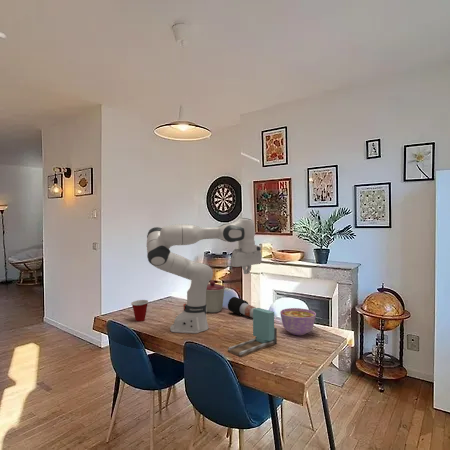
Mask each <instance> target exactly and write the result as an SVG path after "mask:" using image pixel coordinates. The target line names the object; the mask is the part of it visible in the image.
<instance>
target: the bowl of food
mask: <svg viewBox="0 0 450 450" xmlns="http://www.w3.org/2000/svg"><path fill="white" fill-rule="evenodd" d="M279 314H280V319H281V322H282V325H283V327H284V329H285V330H286V331H287V332H288V333H290V334H291V335H293V336H304V335H306V334H308V333H310V332H311V331H312V330H313V328H314V324H315V320H316V317H317V313H316V312H315V311H314V310H312V309H307V308H299V307H292V308H291V307H290V308H284V309H281V310H280V312H279Z"/></svg>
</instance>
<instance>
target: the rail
mask: <svg viewBox="0 0 450 450" xmlns="http://www.w3.org/2000/svg"><path fill="white" fill-rule="evenodd" d="M277 329H278V328H277V327H274V340H271V341H269V342H266V343H261V342H258V341H256V337H255V338H252V339H250V340H247V341H244V342H241V343H238V344H235V345H232V346H229V347H227V348H228V349H227V352H228V353H229V354H230V353H231V354H233V355H235V356H237V357H239V358H243V357H245V356H247V355H250V354H253V353H256V352H258V351H261V350H264V349H266V348H269V347H272V346H274V345H277V344H278V342H277V341H278V340H277V339H278V338H277V337H278V335H277V334H278V333H277V332H278V331H277Z"/></svg>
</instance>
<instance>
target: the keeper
mask: <svg viewBox="0 0 450 450" xmlns="http://www.w3.org/2000/svg"><path fill="white" fill-rule="evenodd" d="M274 328H275V311H272V310H270V309H269V310H268V309H265V308H261V307H256V308H255V309H253V318H252V335H253V337H255V338H256V341H258V342H261V343H266V342H269V341H271V340H274Z"/></svg>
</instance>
